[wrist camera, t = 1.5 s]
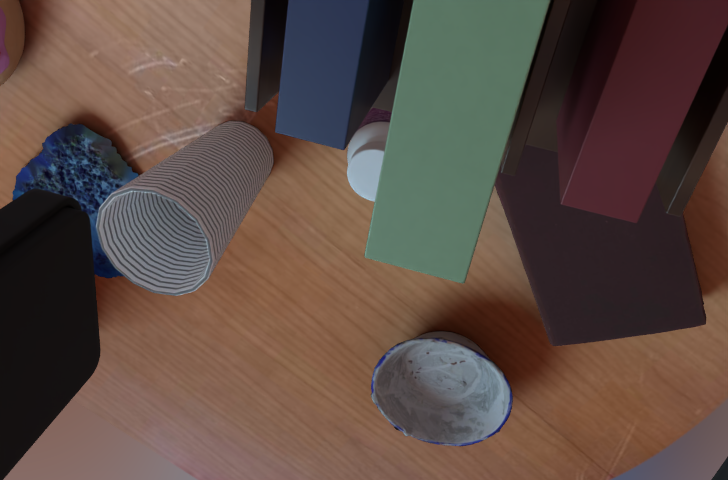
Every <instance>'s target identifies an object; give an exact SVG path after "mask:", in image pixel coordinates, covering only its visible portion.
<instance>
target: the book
mask: <svg viewBox="0 0 728 480" xmlns="http://www.w3.org/2000/svg"><path fill="white" fill-rule="evenodd" d="M501 166H502V162H501V165H500V168H499V172H498V175H497V178H496V181H495V187H496V190H497V193H498V195H499V198H500V201H501V203H502V206H503V209H504V211H505V214H506V217H507V220H508V222H509V225H510V228H511V231H512V234H513V237H514V239H515V242H516V245H517V248H518V251H519V254H520V257H521V260H522V263H523V265H524V268H525V271H526V274H527V277H528V279H529V282H530V285H531V288H532V291H533V294H534V297H535V300H536V303H537V306H538V309H539V312H540V315H541V318H542V321H543V324H544V327H545V329H546V332H547V336H548V339H549V341H550V344H551V345H553V346H562V345H571V344H580V343H588V342H596V341H604V340H611V339H618V338H625V337H632V336H640V335H647V334H654V333H661V332H668V331H673V330H678V329H685V328H691V327H696V326H701V325H705V324H706V314H705V310H704V306H703V305H704V302H703V299H702V292H701V288H700V284H699V280H698V276H697V272H696V268H695V263H694V259H693V255H692V250H691V245H690V242H689V238H688V234H687V229H686V225H685V220H684V216H683V213H682V215H681V216H680V217H679V216H675V215H671V214H667V213H666V211H665V208H664V205H663V202H662V199H661V196H660V193H659V190H658V187H657V184H656V182H655V185H654V187H653V189H652V191H651V193H650V196H649V198H648V200H647V202H646V204H645V206H644V209H643V211H642V213H641V215H640V217H639V220H638V222H637V223H634V222H630V221H626V220H622V219H618V218H614V217H610V216H606V215H602V214H598V213H594V212H590V211H586V210H582V209H578V208H574V207H570V206H566V205H562V204H560V186H559V166H558V152H555V151H551V150H547V149H543V148H539V147H534V146H530V145H526V144H525V147H524V150H523V153H522V156H521V159H520V162H519V166H518V169H517V172H516V175H515V176H512V175H508V174H504V173H501Z"/></svg>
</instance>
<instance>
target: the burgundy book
mask: <svg viewBox="0 0 728 480" xmlns="http://www.w3.org/2000/svg"><path fill="white" fill-rule="evenodd" d="M727 25H728V0H598V1H597V3H596V6H595V9H594V12H593V15H592V18H591V21H590V24H589V27H588V30H587V33H586V35H585V38H584V41H583V44H582V47H581V50H580V53H579V56H578V59H577V62H576V65H575V67H574V70H573V73H572V76H571V79H570V82H569V85H568V88H567V91H566V94H565V97H564V100H563V102H562V105H561V108H560V111H559V114H558V117H557V120H556V126H557V146H558V166H559V186H560V204H562V205H566V206H570V207H574V208H578V209H582V210H586V211H590V212H594V213H598V214H602V215H606V216H610V217H614V218H618V219H622V220H626V221H630V222H634V223H637V222H638V220H639V217H640V215H641V213H642V211H643V209H644V206H645V204H646V202H647V200H648V198H649V196H650V193H651V191H652V189H653V187H654V185H655V182H656V180H657V178H658V176H659V174H660V172H661V169H662V167H663V165H664V163H665V161H666V158H667V156H668V154H669V152H670V150H671V148H672V145H673V143H674V141H675V139H676V137H677V134H678V132H679V130H680V128H681V126H682V124H683V121H684V119H685V117H686V115H687V113H688V110H689V108H690V106H691V104H692V102H693V100H694V97H695V95H696V93H697V91H698V89H699V86H700V84H701V82H702V80H703V78H704V76H705V73H706V71H707V69H708V67H709V65H710V62H711V60H712V58H713V56H714V54H715V52H716V49H717V47H718V45H719V43H720V41H721V38H722V36H723V34H724V32H725V30H726V28H727Z"/></svg>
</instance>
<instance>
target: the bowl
mask: <svg viewBox="0 0 728 480" xmlns="http://www.w3.org/2000/svg"><path fill="white" fill-rule="evenodd" d="M371 389H372V394H371V397H372V400H373V402H374V403H375V404H376V405H377V408H378V409H379V410H380V412H381V413H382V414H383V415H384V416H385V417H386V419H387V420H388V421H389V422H390V423H391V424H392V425H393V426H394V428H395V429H396V430H399V431H402V432H403V433H404V435H405V436H412V437H414V438H417V439H418V440H422V441H425V442H428V443H433V444H438V445H451V446H466V445H471V444H474V443H478V442H480V441H483V440H485V439H487V438H488V437H490V436H492V435H494V434H495V433H497V432H499V431H500V429H501V428H502V426H503V425H504V424H505V422H506V421H507V419H508V417H509V415H510V412H511V409H512V402H513V396H512V390H511V387H510V384H509V382H508V380H507V378H506V376H505V375H504V373H503V372H502V371H501V370H500V368H499V367H498V366H497V365H496V364H495V363H494V362H493V361H491V360H490V359H489V358H488V356H487V355H486V354H485V353H484V352H483V351H482V350H481V349H480V347H478V346H477V345H476V344H475V343H474V342H472V341H471V340H469V339H468V338H466V337H464V336H462V335H459V334H456V333H453V332H446V331H437V332H430V333H426V334H423V335H420V336H418V337H416V338H414V339H411V340H406V341H404V342H401V343H398V344H397V345H396V346H394V347H392V348H391V349H390V350H389V351H388V352H386V353H385V355H384V356H383V357H382V358H381V359H380V360H379V362H378V364H377V365H376V367H375V369H374V373H373V377H372V383H371Z"/></svg>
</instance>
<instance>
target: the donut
mask: <svg viewBox="0 0 728 480" xmlns="http://www.w3.org/2000/svg"><path fill="white" fill-rule="evenodd" d="M24 41H25V23H24V18H23V12H22V9H21V5H20V2H19V0H0V86H1V85H2V84H4V82H5V81H6V80H7V79H8V78H9V77H10V76H11V75H12V73H13V72H14V70H15V69H16V67H17V65H18V63H19V60H20V58H21V55H22V53H23V47H24Z"/></svg>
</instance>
